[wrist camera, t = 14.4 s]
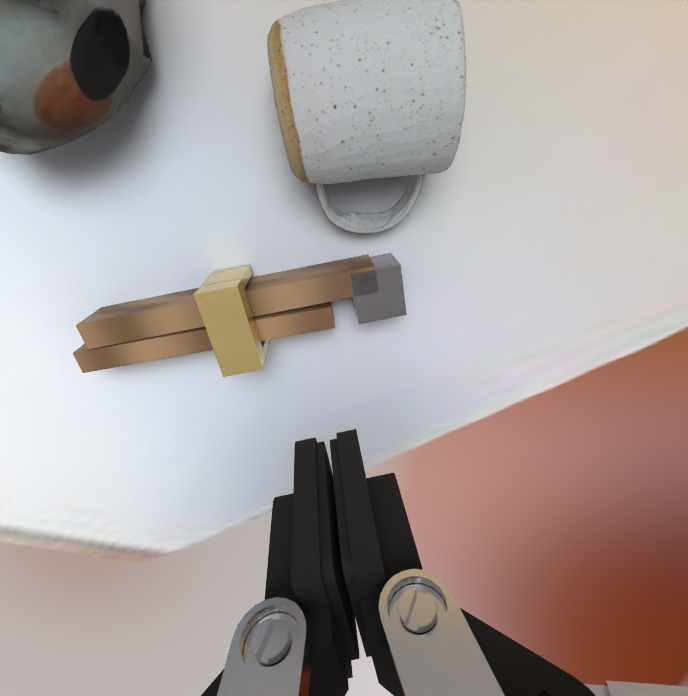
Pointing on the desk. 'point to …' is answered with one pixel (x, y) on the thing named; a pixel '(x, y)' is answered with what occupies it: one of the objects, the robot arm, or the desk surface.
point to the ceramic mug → (369, 95)
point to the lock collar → (231, 321)
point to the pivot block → (380, 291)
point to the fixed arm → (261, 293)
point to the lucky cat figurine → (66, 68)
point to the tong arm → (202, 339)
